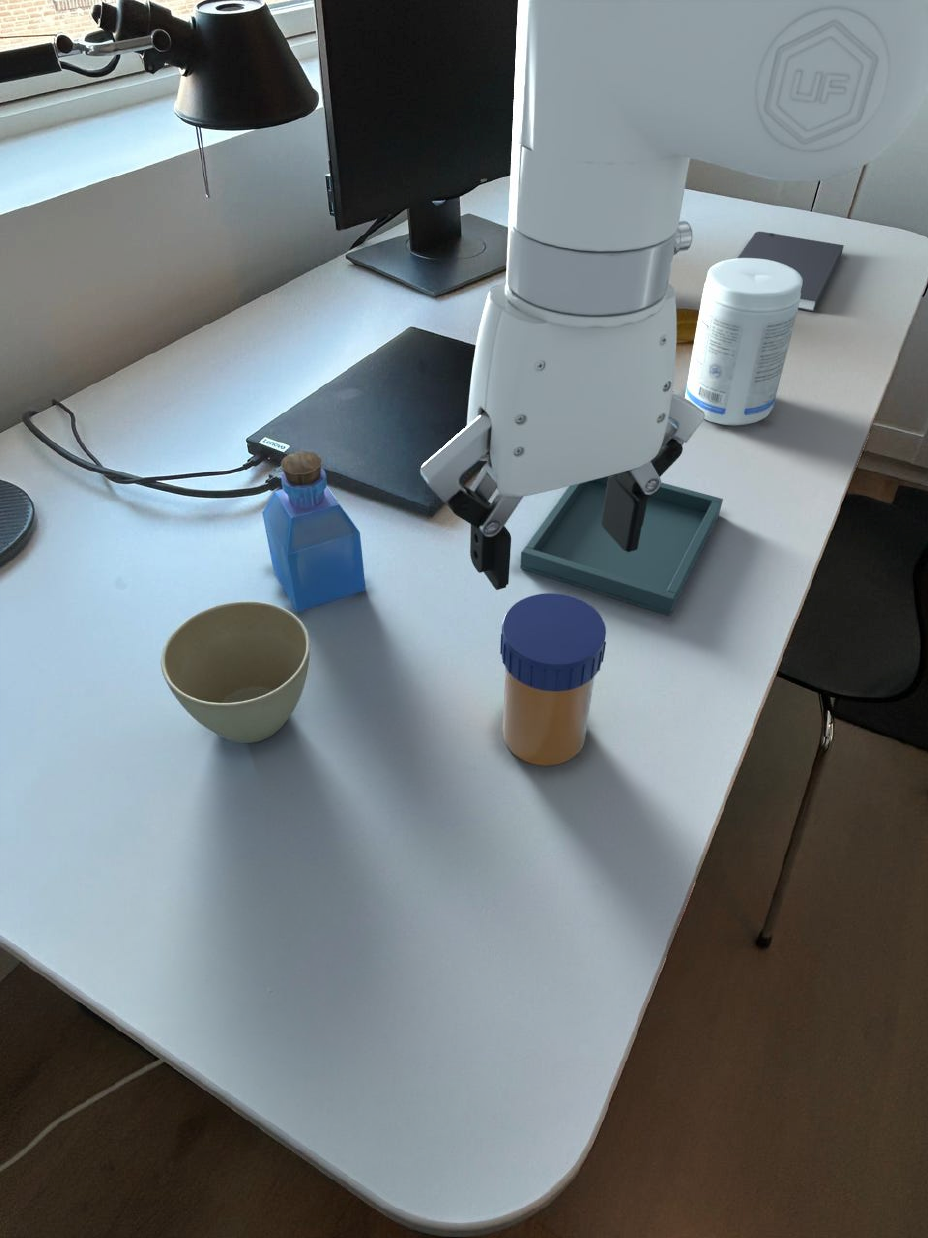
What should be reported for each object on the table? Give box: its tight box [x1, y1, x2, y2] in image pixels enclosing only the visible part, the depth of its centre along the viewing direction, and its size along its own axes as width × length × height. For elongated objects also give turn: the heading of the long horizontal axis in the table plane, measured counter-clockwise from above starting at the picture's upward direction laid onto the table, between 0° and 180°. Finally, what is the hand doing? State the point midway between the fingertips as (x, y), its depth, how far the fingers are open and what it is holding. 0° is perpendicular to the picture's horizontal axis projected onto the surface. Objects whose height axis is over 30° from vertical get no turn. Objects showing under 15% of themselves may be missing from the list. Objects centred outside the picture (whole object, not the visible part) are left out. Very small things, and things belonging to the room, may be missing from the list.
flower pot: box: [160, 600, 311, 744], centre depth 63 cm, size 10×10×7 cm
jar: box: [502, 668, 595, 767], centre depth 60 cm, size 6×6×10 cm
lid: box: [499, 592, 607, 691], centre depth 57 cm, size 7×7×2 cm
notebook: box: [736, 231, 845, 313], centre depth 123 cm, size 13×2×21 cm
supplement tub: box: [684, 257, 803, 426], centre depth 92 cm, size 10×10×15 cm
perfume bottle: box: [262, 450, 367, 613], centre depth 72 cm, size 6×6×12 cm
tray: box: [519, 476, 724, 617], centre depth 79 cm, size 16×14×2 cm
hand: (556, 555), depth 52 cm, fingers open, 8 cm apart
